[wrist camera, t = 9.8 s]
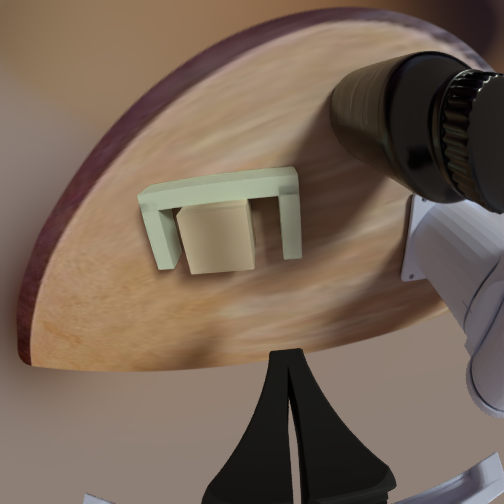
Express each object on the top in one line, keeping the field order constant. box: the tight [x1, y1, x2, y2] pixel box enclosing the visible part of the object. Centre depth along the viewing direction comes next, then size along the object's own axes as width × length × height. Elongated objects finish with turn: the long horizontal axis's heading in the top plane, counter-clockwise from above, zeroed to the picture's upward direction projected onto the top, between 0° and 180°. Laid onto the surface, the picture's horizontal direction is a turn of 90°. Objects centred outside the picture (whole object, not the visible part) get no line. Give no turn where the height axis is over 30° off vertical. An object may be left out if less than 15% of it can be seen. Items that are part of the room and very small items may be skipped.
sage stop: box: [137, 166, 302, 270], centre depth 18 cm, size 10×6×2 cm, turn 97°
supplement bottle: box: [330, 51, 504, 215], centre depth 10 cm, size 7×7×12 cm
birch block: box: [176, 199, 256, 274], centre depth 18 cm, size 4×4×4 cm
